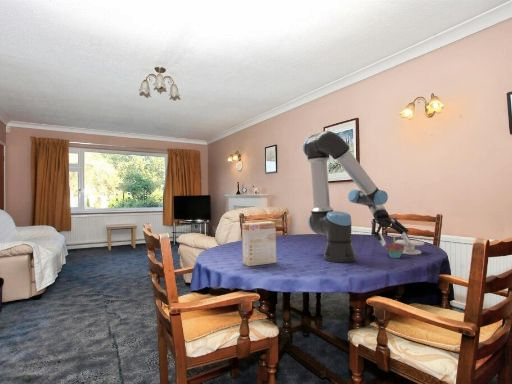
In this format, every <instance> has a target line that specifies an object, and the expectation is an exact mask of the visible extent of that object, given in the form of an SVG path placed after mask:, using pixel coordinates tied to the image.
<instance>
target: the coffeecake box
mask: <svg viewBox="0 0 512 384" xmlns="http://www.w3.org/2000/svg"><path fill="white" fill-rule="evenodd" d="M241 225H242V226H241V228H242V229H241V232H242V235H241V237H242V264H243V265H245V266H246V267H253V266H259V265H266V264H267V265H269V264H277V238H276V237H277V235H276V230H277V229H276V227H277V226H276V221H270V220H269V221H257V222H255V221H254V222H253V221H252V222H242V223H241Z"/></svg>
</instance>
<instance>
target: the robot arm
mask: <svg viewBox="0 0 512 384" xmlns="http://www.w3.org/2000/svg"><path fill="white" fill-rule="evenodd" d="M350 149H351V147H350V146H349V144H348V143H347V142H346V141H345V140H344V139H343V138H342V137H341V136H340V135H339V134H337V133H336V132H334V131H331V130H326V131H322V132H319V133H316V134H315V133H314V134H311V135H310V136H308V137H307V138H306V139H305V140H304V142H303V145H302V150H303V151H302V152H303V153H304V155H305V156H306V158H307V162H309V163H310V172H311V186H312V200H313V208H312V209H311V210H310V212H311V214H310V215H309V217H308V219H307V220H308V223H307V224H308V227H309V229H310V230H311V231H312V232H313V233H315V234H316V235H320V236H326V237H327V240H326V241H327V242H326V247H325V250H324V253H323V259H324V260H325V261H328V262H334V263H353V262H355V261H356V253H355V251H354V247H353V244H352V217H351V214H350V213H348V212H345V211H344V212H343V211H339V210H338V211H336V210H335V211H334V208H332V206H331V203H330V201H331V200H330V187H329V173H328V161H329V160H330V159H331V158H330V156H331V157H332V160H335V161H337V163H339V165H340V166H341V167H342V168H343V170H344V171H345V172H346V174H347V175H348V177H350V178H351V180H352V181H353V183H354V184H355V185H356V186H357V187H358V189H351V190H350V191H349V192H348V195H347V199H348V201H349V202H350V203H353V204H357V205H362V206H365V207H368V209H369V211H370V213H371V214H372V216H373V218H372V219H371V236H374V237H375V238H377V240H378V241H379V242H380V244H381V246H382V247H383V248H384V247H386V246H387V243H386V240H385V239H384V236H383V234H382V233H381V230H382V228H390V229H391V230H394V231H395V232H397V233H399V234H400V235H401V236H400V237H401V238H402V240H404V241H405V243H406V245H407V246H408V245H409V244H410V243H411V242H410V240H411V239H409V236H408V234H407V233H408V232H409V229H408V228H406V227H405V226H404V225H403V224H402V223H400V221H399V220H398V219H397V218H395V217H394V218H392V219H391V218H390V215H389V213H388V211H387V210H386V208H385V205H384V204H386V203H387V202H388V199H389V198H388V197H389V195H388V192H387V191H385V190H384V189H379V187H378V186H377V185H376V183H374V181H373V180H372V179H371V176H370V175H368V173H367V172H366V170H365V169H364V168H363V167H362V165H361V164H360V163H359V161H358V160H357V158H356V157H355V156H354V154H353V153H352V152H351V150H350ZM377 224H378V226H377ZM376 227H377V229H376Z"/></svg>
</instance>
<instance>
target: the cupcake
mask: <svg viewBox="0 0 512 384" xmlns="http://www.w3.org/2000/svg"><path fill="white" fill-rule="evenodd" d="M395 241H396V235H395V234H393V242H391V243H388V244H386V245H385V250H387V252H388V254H389V257H390V258H394V259H400V258H401V256H402V252H403V251H404V245H401V244H398V243H395Z"/></svg>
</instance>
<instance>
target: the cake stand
mask: <svg viewBox="0 0 512 384" xmlns="http://www.w3.org/2000/svg"><path fill="white" fill-rule="evenodd" d="M409 240H410V242H411V243H410V244H409V245H408V246H407V245H406V243H405V241H404V240H403V239H397V240H396V239H395V243H398V244H401V245H402V246H404V251H403V252H402V254H403V255H408V256H409V255H410V256H412V255H413V256H414V255H417V256H418V254H419V255H421V254H422V251H421V250H419V249H415V247H417V246H419V247H420V246H425V242H424V241H422V240H416V239H415V240H414V239H409ZM402 254H401V255H402Z"/></svg>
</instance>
